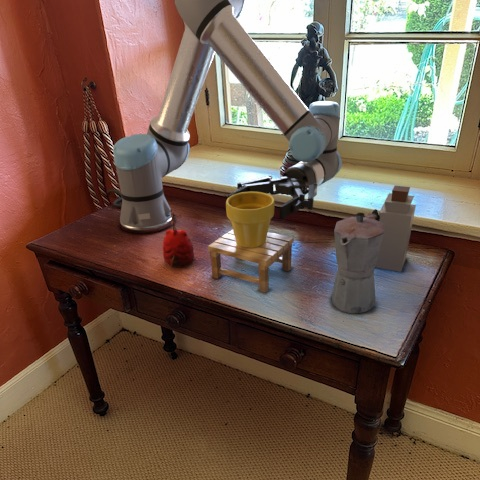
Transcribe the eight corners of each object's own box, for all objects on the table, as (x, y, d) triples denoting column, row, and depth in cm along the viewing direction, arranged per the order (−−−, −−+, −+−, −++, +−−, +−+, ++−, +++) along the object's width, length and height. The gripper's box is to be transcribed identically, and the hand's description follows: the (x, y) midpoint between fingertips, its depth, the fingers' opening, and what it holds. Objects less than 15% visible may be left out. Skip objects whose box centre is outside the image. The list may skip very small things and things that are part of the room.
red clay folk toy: (196, 256, 115) (190, 199, 107) (192, 270, 110) (185, 210, 101) (167, 256, 116) (158, 199, 107) (161, 270, 110) (152, 211, 102)
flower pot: (270, 253, 98) (270, 210, 92) (223, 250, 100) (220, 208, 94) (277, 233, 106) (277, 191, 100) (233, 230, 108) (231, 190, 102)
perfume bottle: (405, 258, 110) (419, 185, 99) (401, 271, 105) (415, 195, 95) (377, 254, 112) (388, 181, 102) (371, 266, 107) (382, 192, 97)
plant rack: (210, 277, 107) (207, 245, 102) (239, 254, 115) (238, 225, 110) (266, 293, 100) (266, 261, 95) (292, 268, 108) (293, 237, 104)
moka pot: (315, 312, 93) (322, 220, 82) (346, 279, 103) (355, 192, 92) (360, 326, 89) (373, 231, 77) (387, 290, 99) (402, 201, 87)
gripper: (347, 202, 109) (304, 235, 96) (260, 185, 122) (211, 212, 108) (350, 170, 105) (305, 200, 91) (260, 156, 117) (208, 180, 104)
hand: (254, 206), depth 100 cm, fingers open, 13 cm apart
